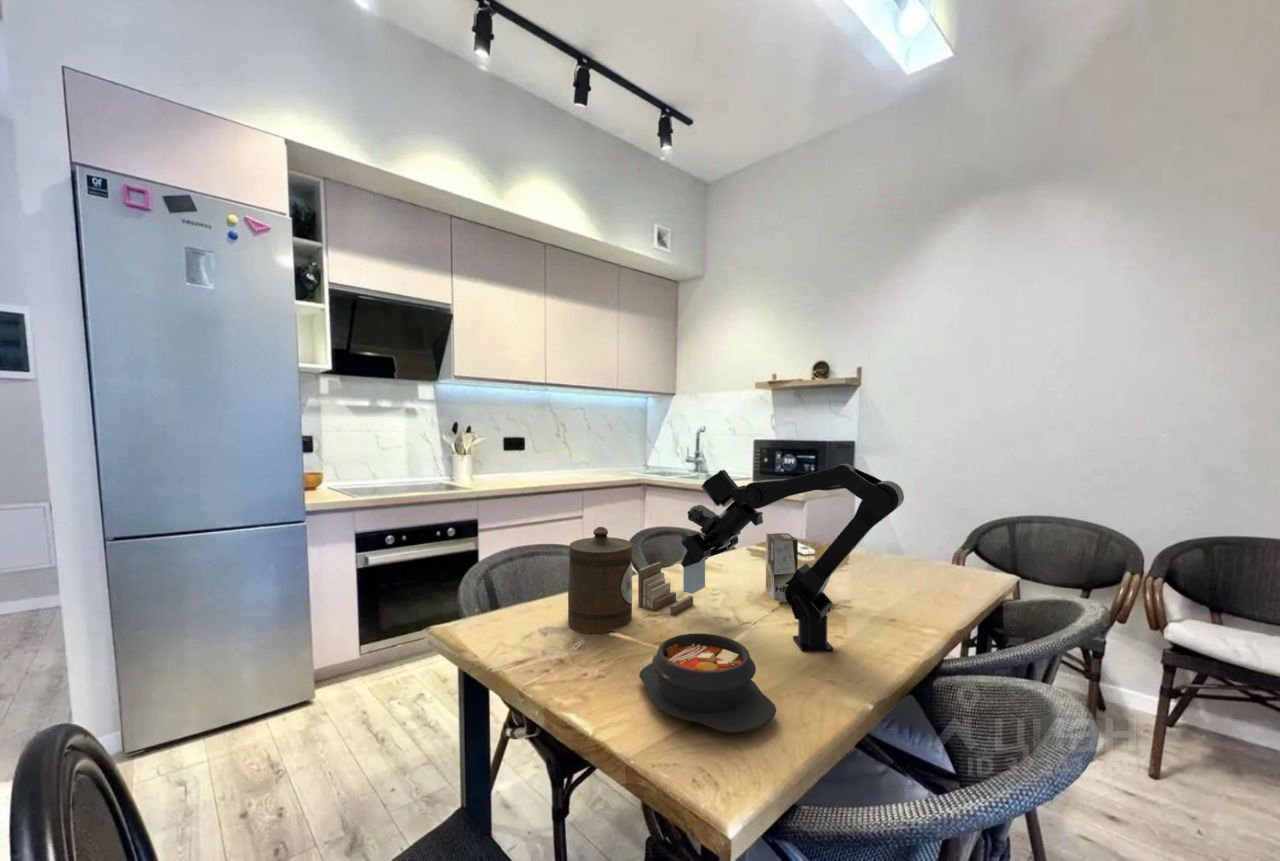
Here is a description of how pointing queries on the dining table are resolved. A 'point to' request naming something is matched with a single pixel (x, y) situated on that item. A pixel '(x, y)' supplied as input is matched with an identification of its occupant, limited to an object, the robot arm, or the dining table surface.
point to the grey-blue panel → (693, 576)
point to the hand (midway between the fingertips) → (689, 562)
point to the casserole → (707, 683)
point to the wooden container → (600, 583)
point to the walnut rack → (659, 592)
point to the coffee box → (780, 563)
